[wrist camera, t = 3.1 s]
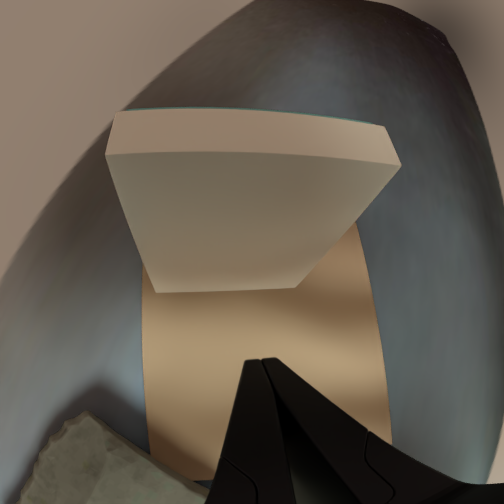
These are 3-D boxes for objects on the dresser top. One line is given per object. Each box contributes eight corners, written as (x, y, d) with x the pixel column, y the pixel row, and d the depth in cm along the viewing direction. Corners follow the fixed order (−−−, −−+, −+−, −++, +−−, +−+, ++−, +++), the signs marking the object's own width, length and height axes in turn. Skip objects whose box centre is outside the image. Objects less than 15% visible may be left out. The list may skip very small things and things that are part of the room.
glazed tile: (295, 287, 16) (401, 165, 7) (155, 292, 15) (104, 154, 6) (290, 257, 17) (380, 119, 8) (156, 260, 16) (118, 103, 7)
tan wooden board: (388, 442, 14) (392, 443, 13) (155, 478, 12) (154, 480, 11) (335, 161, 21) (337, 157, 21) (152, 156, 19) (151, 152, 18)
